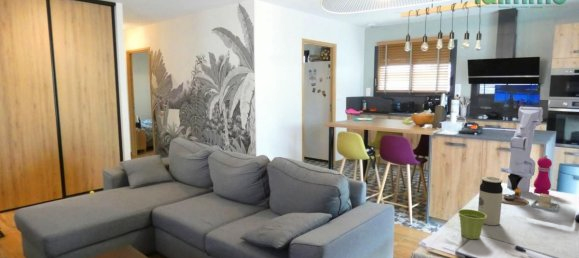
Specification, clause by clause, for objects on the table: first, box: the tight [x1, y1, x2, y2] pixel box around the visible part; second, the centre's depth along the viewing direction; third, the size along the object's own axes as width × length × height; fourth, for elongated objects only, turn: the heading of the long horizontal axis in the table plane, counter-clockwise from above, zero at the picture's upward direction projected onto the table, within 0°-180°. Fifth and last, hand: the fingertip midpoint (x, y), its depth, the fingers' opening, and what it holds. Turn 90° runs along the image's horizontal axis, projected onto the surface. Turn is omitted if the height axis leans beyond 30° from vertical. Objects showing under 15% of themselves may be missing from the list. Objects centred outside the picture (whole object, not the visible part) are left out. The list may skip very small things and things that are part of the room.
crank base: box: [501, 193, 530, 207], centre depth 170 cm, size 16×16×2 cm
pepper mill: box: [533, 154, 553, 195], centre depth 182 cm, size 7×7×20 cm
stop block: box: [538, 194, 552, 208], centre depth 160 cm, size 4×4×6 cm
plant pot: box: [457, 208, 487, 240], centre depth 133 cm, size 9×9×9 cm
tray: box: [530, 199, 560, 213], centre depth 160 cm, size 9×9×2 cm
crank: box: [504, 188, 522, 200], centre depth 170 cm, size 9×4×4 cm, turn 114°
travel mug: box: [477, 176, 504, 226], centre depth 145 cm, size 8×8×18 cm
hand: (514, 189), depth 173 cm, fingers closed, pressing on crank
